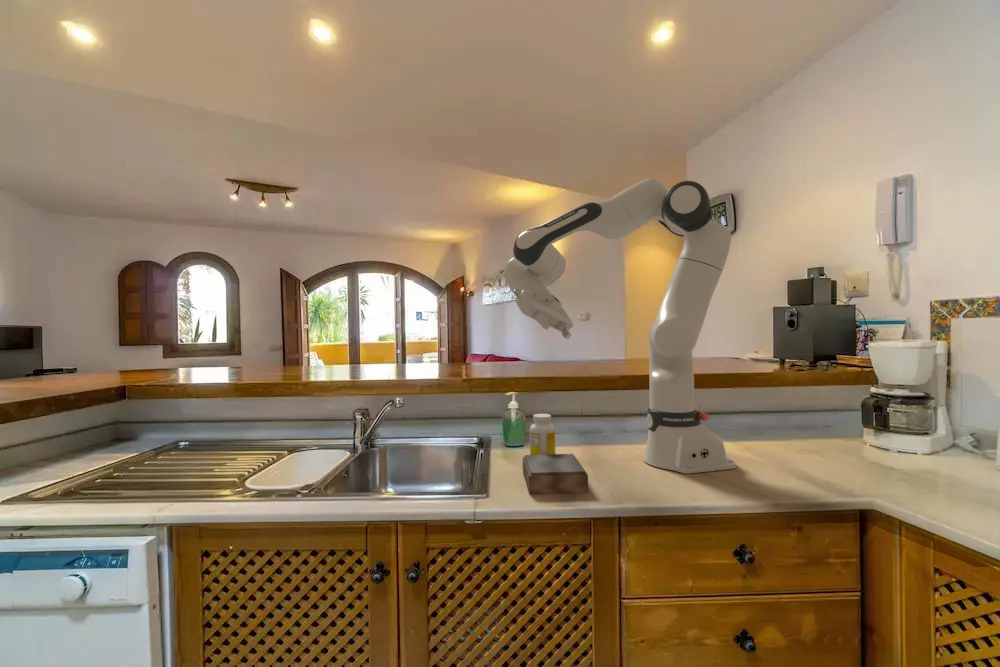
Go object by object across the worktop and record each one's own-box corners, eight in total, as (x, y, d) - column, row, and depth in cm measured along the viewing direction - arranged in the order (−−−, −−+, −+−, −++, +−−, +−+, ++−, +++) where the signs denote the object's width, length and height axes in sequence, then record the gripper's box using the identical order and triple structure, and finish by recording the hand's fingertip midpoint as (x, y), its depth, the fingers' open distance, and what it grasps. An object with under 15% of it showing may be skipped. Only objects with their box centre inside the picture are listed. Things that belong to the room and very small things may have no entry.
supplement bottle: (555, 459, 123) (554, 412, 123) (555, 467, 117) (555, 418, 116) (530, 459, 124) (530, 412, 123) (529, 467, 117) (529, 417, 117)
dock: (574, 471, 114) (574, 453, 113) (588, 492, 100) (587, 472, 99) (522, 472, 113) (522, 454, 113) (529, 494, 99) (529, 473, 99)
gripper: (519, 278, 121) (542, 312, 112) (563, 302, 135) (586, 333, 126) (504, 295, 123) (525, 329, 114) (549, 317, 137) (571, 349, 128)
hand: (558, 332), depth 120 cm, fingers open, 8 cm apart
